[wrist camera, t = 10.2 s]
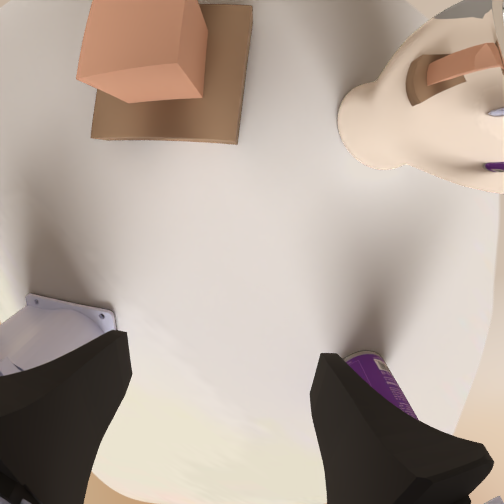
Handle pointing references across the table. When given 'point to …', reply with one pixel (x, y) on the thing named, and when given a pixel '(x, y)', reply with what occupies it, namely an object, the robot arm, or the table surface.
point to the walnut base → (195, 109)
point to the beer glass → (437, 101)
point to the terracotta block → (145, 49)
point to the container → (379, 378)
